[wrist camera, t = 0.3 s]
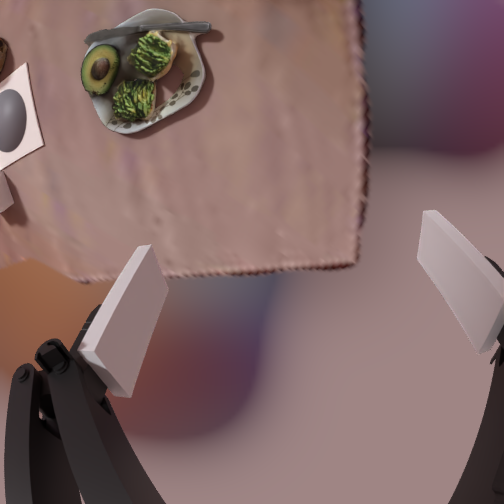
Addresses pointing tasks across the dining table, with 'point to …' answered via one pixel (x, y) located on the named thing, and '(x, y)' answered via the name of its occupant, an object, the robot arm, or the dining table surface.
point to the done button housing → (4, 194)
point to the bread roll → (2, 53)
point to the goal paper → (17, 118)
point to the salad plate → (142, 68)
